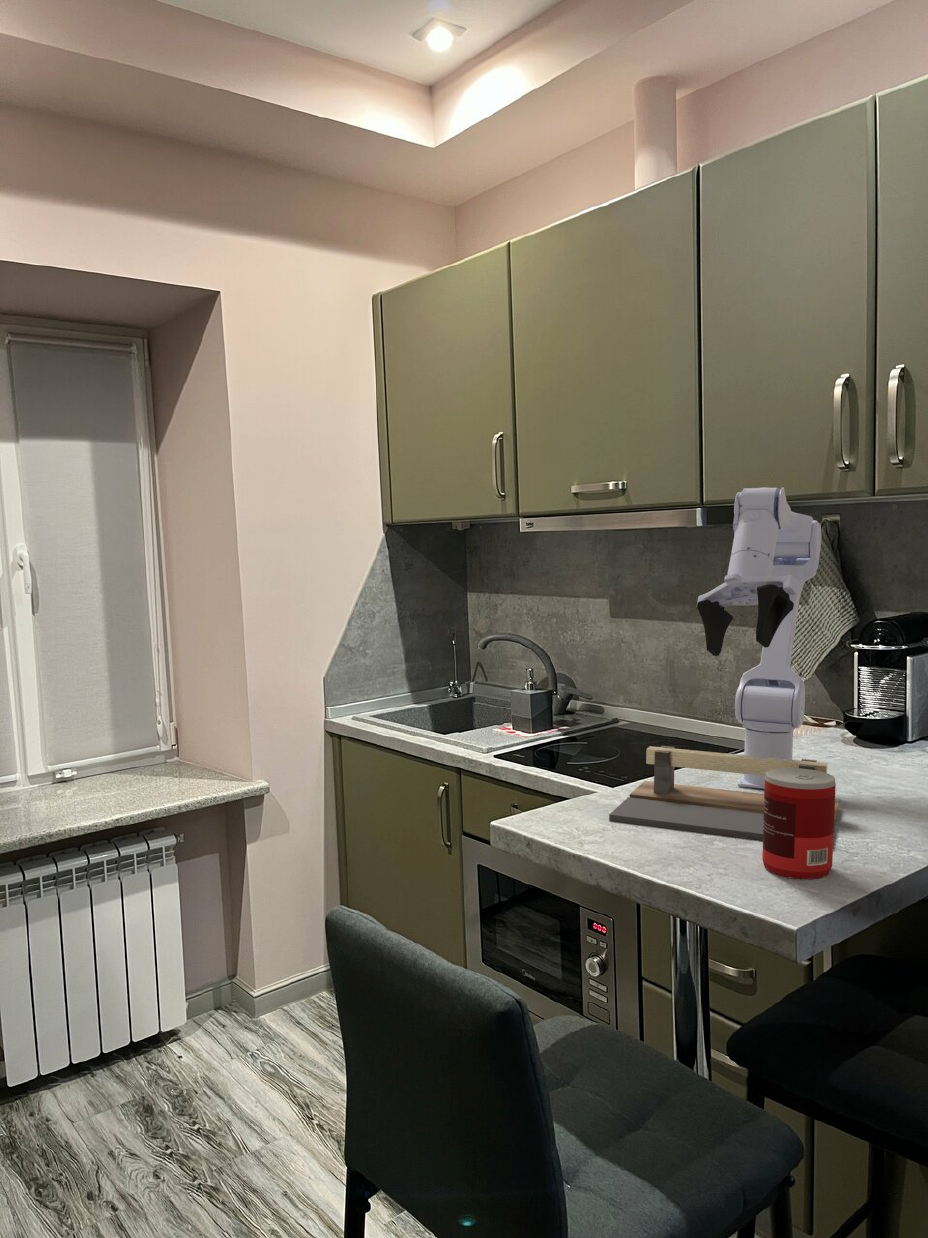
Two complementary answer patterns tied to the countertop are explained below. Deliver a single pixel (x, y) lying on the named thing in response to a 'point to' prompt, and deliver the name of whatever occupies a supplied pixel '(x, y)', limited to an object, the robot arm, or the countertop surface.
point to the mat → (690, 818)
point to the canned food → (798, 822)
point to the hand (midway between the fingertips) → (737, 648)
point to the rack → (699, 790)
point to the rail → (727, 761)
